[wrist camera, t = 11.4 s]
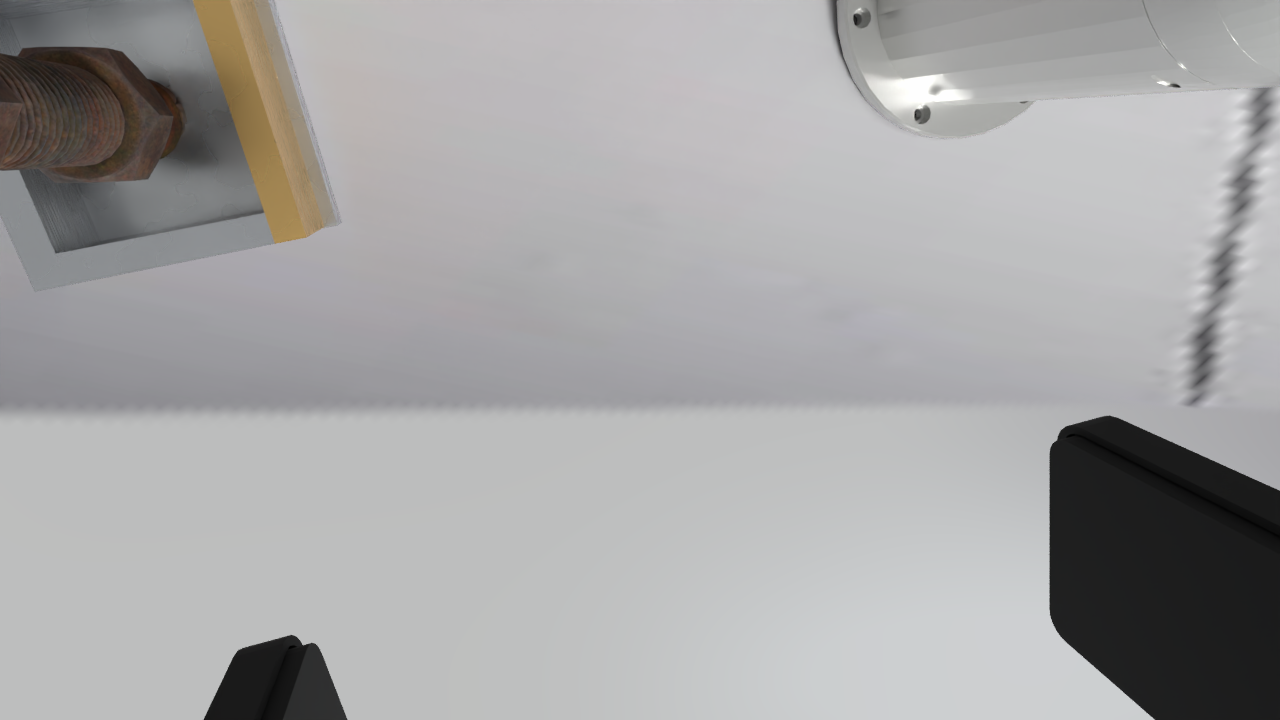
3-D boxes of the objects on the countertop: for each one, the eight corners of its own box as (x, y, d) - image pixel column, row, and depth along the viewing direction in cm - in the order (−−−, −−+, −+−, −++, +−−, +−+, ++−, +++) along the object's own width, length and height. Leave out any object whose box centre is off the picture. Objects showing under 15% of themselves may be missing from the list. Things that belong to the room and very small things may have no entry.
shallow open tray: (258, -49, 30) (221, -79, 26) (341, 222, 34) (321, 235, 29) (-40, -4, 29) (-130, -28, 24) (80, 274, 32) (19, 296, 28)
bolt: (39, 88, 29) (-406, 38, 15) (148, 17, 29) (-195, -100, 15) (147, 216, 31) (-156, 280, 17) (249, 150, 31) (32, 159, 17)
